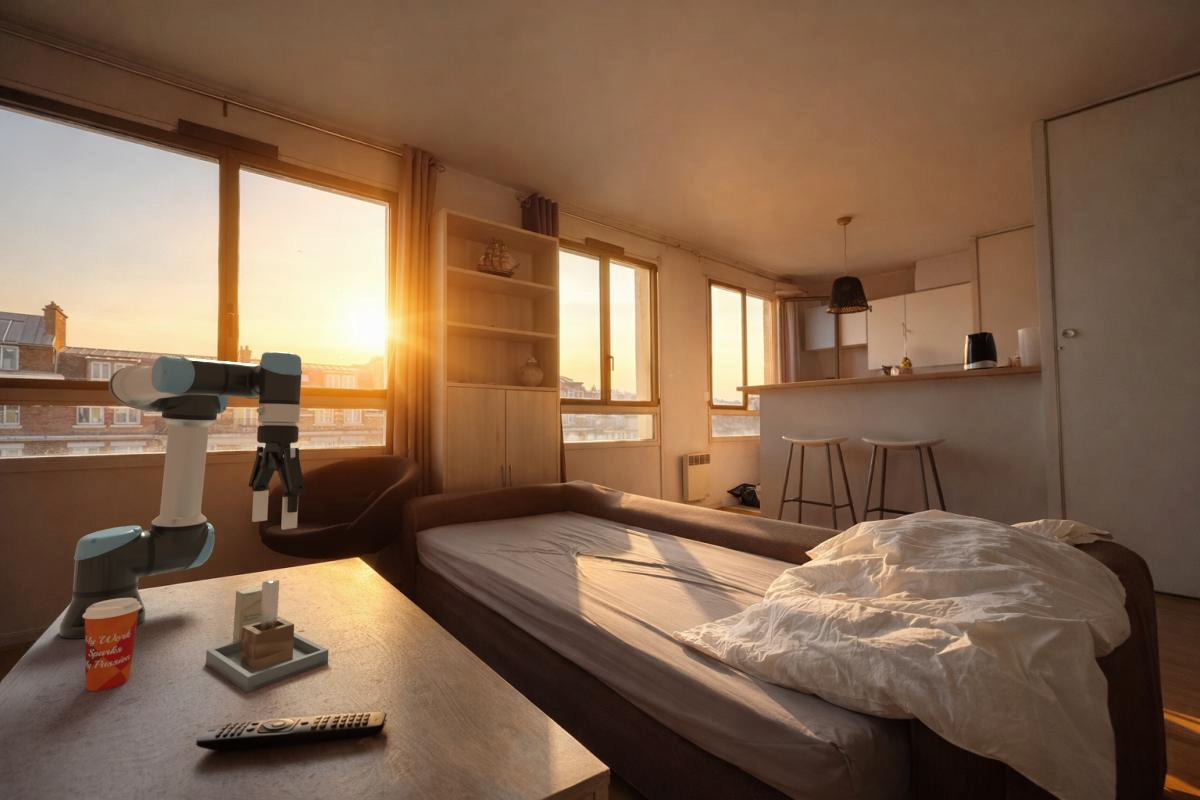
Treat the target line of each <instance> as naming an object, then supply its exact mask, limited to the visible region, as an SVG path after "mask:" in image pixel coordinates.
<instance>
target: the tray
mask: <svg viewBox="0 0 1200 800" xmlns="http://www.w3.org/2000/svg"><path fill="white" fill-rule="evenodd" d="M241 647H242V640H239V641H236V642H233V641H231V642H230V643H226V644H222V645H219V646H215V647H212V648H209V649H206V650H205V651H206V654H205V664H206V666H209V667H210V668H211V669H213V670H214V671H215V672H217V673H218V674H219V675H221V676H223V677H224V678H226V679H227V680H228V681H229V682H231V683H233V684H234V685H236V686H237V687H238V688H239V689H241V690H243V691H244V692H246V693H247V694H248V693H250V692H253V691H256V690H258V689H261V688H263V687H266V686H270V685H272V684H274V683H278V682H281V681H283V680H286V679H289V678H291V677H295V676H297V675H299V674H303V673H305V672H308V671H310V670H311V671H312V670H313V669H315V668H318V667H321V666H325V665H327V664H329V649H328V648H326V647H324V646H322V645H320V644H318V643H316V642H314V641H311V640H309V639H307V637H304V636H302V635H299V634H297V633H296V632H294V641H293V658H291V659H288V660H285V661H282V662H279V663H276V664H273V665H270V666H267V667H264V668H261V669H258V670H254V669H253V668H251V667H249V666H248V665H246V664H245V663H243V662H241Z"/></svg>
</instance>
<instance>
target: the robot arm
mask: <svg viewBox="0 0 1200 800" xmlns="http://www.w3.org/2000/svg"><path fill="white" fill-rule="evenodd" d="M302 374H303V370H302V358H301V356H299V354H296V353H292V352H291V353H290V352H284V351H283V352H282V351H266V352H263V353H262V354H261V359H260V362H259V364H257V363H256V364H253V363H245V362H244V363H243V362H235V361H224V360H211V359H205V358H204V359H201V358H193V357H187V356H182V355H174V356H171V355H161V356H158V357H157V358H156V359H155V361H154V363H153V365H139V364H138V365H137V364H136V365H130V366H125V367H122V368H120V369H118V370H117V371H115V372H114V373H113V374H112V376H111V377H110V378H109V381H108V390H109V393H110V394H111V397H112V398H113V399H115V400H116V402H118V403H120V404H122V405H123V406H125V407H128V408H131V409H135V410H138V411H145V412H157V413H158V412H160V413H161V419H162V420H163V421H164V422H165V424H167V425H168V427H167V435H166V436H167V438H166V439H167V440H166V445H165V446H166V448H165V457H164V458H165V459H164V467H163V479H162V489H161V497H160V498H161V499H160V510H159V515H158V516H156V517H155V518H154V519H153V520H151V525H150V529H146V530H143V528H142V527H141V525H126V526H118V527H116V526H115V527H112V528H106V529H103V530H98V531H95V532H92V533H89V534H86V535H84V536H82V537H80V538H79V540H78V541H77V544H76V547H75V553H74V556H73V559H74V568H73V569H74V571H73V583H72V586H73V587H72V599H71V601H70V603H69V605H68V608H67V610H66V612H65V614H64V615H63V616H64V617H63V618H62V620H61V622H60V626H59V633H58V634H59V636H60V637H61V638H64V639H85V618H83V617H82V616H83V614H84V613H85V612H86V609H87V608H88V607H90V606H91V605H92V604H95V603H98V602H102V601H106V600H111V599H118V598H135V599H137V601H139V602H140V605H141V606H142V608H141V609H139V610H138V617H137V625H136V627H137V626H138V625H140V624H142V623H144V622H145V621H146V608H145V605H144V604H143V600H142V597H141V595H140V593H139V589H138V588H139V578H142V577H150V576H155V575H161V574H165V573H166V574H167V573H172V572H178V571H187V570H188V569H192V568H196V567H197V568H198V567H201V566H202V565H203V564H205V562H206V561H208V559H209V558H210V556H211V554H212V552H213V550H214V547H215V546H214V545H215V540H216V539H215V537H216V536H215V528H214V526H213V525H212V524H211V523H209V522H208V518H207V517H206V516H205V515H204V514H203V513H202V503H203V491H204V484H205V483H204V481H205V474H206V473H205V472H206V462H207V461H206V460H207V452H208V451H207V449H208V441H209V439H208V438H209V432H210V426H211V425H213V424H214V423H215V422H217V417H218V415H220V414H223V413H224V412H226V410H227V407H228V403H229V397H232V398H235V397H236V398H245V399H254V400H257V399H259V400H258V408H257V409H256V412H257V414H258V420H257V421H258V423H261V425H258V426H257V432H256V433H257V435H256V436H257V437H256V441H257V443H260V444H265V445H262V446H261V445H260V446H259V445H258V446H257V448H256V455H255V459H254V464H253V467H252V471H251V474H250V478H249V481H248V488H251V490H252V492H253V494H252V513H251V514H252V515H251V516H252V517H251V522H253V523H255V522H257V523H258V522H264V521H268V513H269V512H268V510H269V509H268V508H269V492H270V491H269V490H270V486H269V484H270V482H271V480H272V477H273V475H274V473H275V472H277V473H278V477H279V479H280V482H281V486H282V489H283V493H282V495H281V497H282V503H281V505H282V506H281V524H280V525H281V526H280V529H281V530H290V529H297V528H298V513H299V511H298V510H299V496H301V495H302V494H305V492H306V489H305V482H304V477H303V472H302V467H301V466H302V465H301V461H300V449H299V447H291V444H295V443H298V442H299V433H300V432H299V428H300V427H299V426H298V425H297V424H299V423H300V416H301V412H300V411H301V404H300V403H301V389H302V388H301V386H302Z"/></svg>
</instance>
